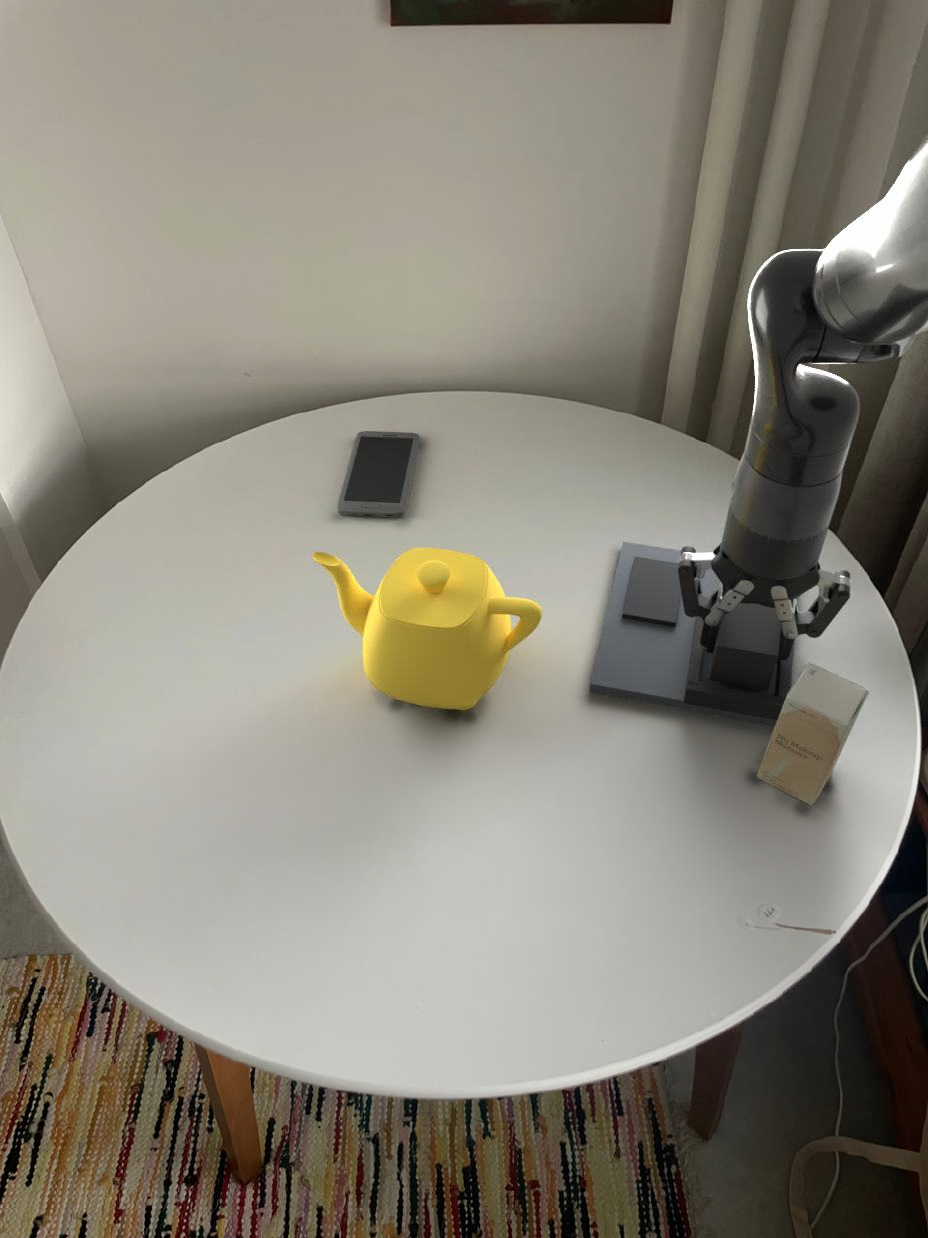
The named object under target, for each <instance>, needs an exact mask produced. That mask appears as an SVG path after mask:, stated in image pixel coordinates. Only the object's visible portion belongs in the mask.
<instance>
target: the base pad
mask: <svg viewBox="0 0 928 1238" xmlns="http://www.w3.org/2000/svg"><path fill="white" fill-rule="evenodd" d="M619 552H620V553H619V557H618V562H617V565H616V571H615V575H614V578H613V582H612V586H611V587H612V588H611V591H610V595H609V600H608V605H607V609H606V614H605V618H604V622H603V627H602V631H601V635H600V640H599V644H598V648H597V652H596V657H595V662H594V666H593V671H592V673H591V675H592V676H591V679H590V682H589V691H590V692H594V693H599V694H604V695H610V696H616V697H622V698H627V699H632V700H638V701H643V702H648V703H653V704H654V703H655V704H660V705H664V706H671V707H675V708H681V709H686V710H691V711H698V712H703V713H709V714H714V715H719V716H723V717H728V718H729V717H730V718H736V719H741V720H746V721H753V722H758V723H762V724H767V725H772V726H776V723H777V720H778V718H779V715H780V712H781V710H782V707H783V705H784V702H785V699H786V697H787V694H788V693H789V691H790V689H791V687H792V676H793V659H794V658H793V657H794V646H795V645H794V644H795V642H794V643H793V646H792V649H791V653H790V656H789V658H788V659H787V660H780V663H779V665H776V667H775V670H774V673H773V677H772V680H771V683H770V687H769V690H762V689H757V688H751V687H746V686H740V685H734V684H729V683H723V682H718V681H712V680H709V677H710V670H711V662H712V654H713V653H707V652H706V649H707V647H705V646H701V643H700V637H701V630H702V626H703V619H702V618H700V617H699V616H696V617H688V616H687V615H686V614H685V612H684V606H683V600H682V594H681V588H680V581H679V575H678V566H679V560H680V555H681V550H680V549H676V548H675V549H674V548H668V547H663V546H662V547H660V546H656V545H655V546H654V545H649V544H641V543H636V542H635V543H634V542H629V541H622V544H621V549H620V551H619ZM700 583H701V590H702V595H705V596H707V597H710V596H711V595H712V594H713V592H714V591H715V590H716V589H717V587H718V585H719V583H720V580H719V579H718V577H717V576H716V574H715V573H714V571H713V570H712V568H711V569H708V570H706V572H705V576H704V577H703V578H701V579H700Z"/></svg>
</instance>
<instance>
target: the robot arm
mask: <svg viewBox="0 0 928 1238" xmlns="http://www.w3.org/2000/svg"><path fill="white" fill-rule="evenodd" d="M747 313H748V326H749V332H750V339H751V344H752V345H751V346H752V352H753V360H754V361H753V362H754V376H755V381H754V382H755V383H754V384H755V385H754V387H755V388H754V390H755V391H754V403H753V410H752V415H751V419H750V423H749V427H748V428H749V429H748V432H747V438H746V443H745V445H744V446H745V447H744V451H743V453H742V456H741V459H740V461H739V464H738V467H737V469H736V473H735V476H734V479H733V481H732V484H731V491H732V492H731V495H730V501H729V504H728V505H729V506H728V510H727V514H726V520H725V524H724V528H723V533H722V537H721V538H722V539H721V542H720V543H719V544H718V545H717V546H716V547H715V548H714V550H713V551H712V552H697V550H696V548H695V547H693V546H691V545H685V546H683V547H682V548H681V555H680V560H679V566H678V575H679V581H680V588H681V594H682V600H683V606H684V612H685V614H686V615H687V616H688V617H696V616H699V617H700V618H702V619H703V626H702V630H701V637H700V643H701V646H705V647H707V649H706V652H707V653H713V652H714V648H715V644H716V639H717V635H718V631H719V626H720V622H721V620H722V619H723V618H724V617H725V616H726V614H727V613H728V614H730V613H731V612H732V611H733V610H734V609H735V608H736V606H737V605H738V604H739V603H746V604H760V605H763V606H765V607H770V608H775V609H776V613H777V617H778V621H779V622H780V625H781V631H780V645H779V657H778V660H777V664H776V665H779V663H780V660H787V659H788V658H789V656H790V653H791V649H792V646H793V647H794V645H793V643H794V644H795V639H796V638H797V637H798V636H801V635H806V636H807V637H809V638H812V639H817V638H820V637H821V636H822V634H823V633H824V632H825V631H826V629H827V628H828V627H829V626H830V624H831V623H832V622H833V620H834V619H835V618H836V616H837V615H838V614H839V612H840V611H841V610H842V609H843V607H844V606H845V605H846V604H847V603H848V601H849V600H850V599H851V573H850V571H848V570H845V569H838V570H837V571H836V572H834V573H832V572H829V571H826V570H824V569H821V565H820V562H819V560H820V556H821V553H822V550H823V547H824V543H825V540H826V537H827V534H828V531H829V527H830V525H831V521H832V519H833V514H834V512H835V508H836V504H837V502H838V499H839V495H840V491H841V486H842V478H843V477H842V476H843V471H844V466H845V464H846V460H847V457H848V454H849V452H850V448H851V444H852V441H853V438H854V435H855V431H856V429H857V425H858V421H859V418H860V417H859V416H860V410H861V404H860V403H861V402H860V398H859V395H858V393H857V390H855V388H854V387H853V386H852V385H851V383H849V382H848V381H846V380H845V379H843V378H841V377H840V376H837V375H836V374H833V373H830V372H829V371H828V372H827V371H824V370H821V369H817V368H812V367H809V366H806V364H807V365H808V364H809V365H827V364H828V365H829V364H830V365H833V364H834V365H837V364H838V365H842V364H843V365H844V364H845V365H846V364H848V365H849V364H850V365H851V364H852V365H854V364H855V365H860V364H861V365H866V364H878V363H884V362H890V361H893V360H897V359H899V358H900V357H902V356H904V355H905V354H906V353H907V351H909V349H910V347H912V345H913V342H914V341H915V338H916V336H917V335H919V334H922V333H924V332H925V333H926V332H927V331H928V131H927V132H926V133H925V135H924V136H923V138H922V140H921V141H920V142H919V144H918V146H917V147H916V148H915V150H914V151H913V153H912V154H911V156H910V158H909V159H908V160H907V163H906V164H905V165H904V167H903V169H902V170H901V172H900V175H899V176H898V177H897V179H896V181H895V183H894V184H893V185H892V187H891V188H890V189H889V191H888V192H887V194H886V195H885V197H884V198H883V199H881V200H880V201H879V202H878V203H876V204H875V205H874V206H872V207H871V208H870V209H869V210H868V211H866V212H865V213H863V214H862V215H861V216H860V217H858V218H856V220H854V221H853V222H852V223H850V224H849V225H848V226H847V227H846V228H844V229H843V230H842V231H840V232H839V234H837V235H836V236H835V237H834V238H833V239H832V240H831V241H830V243H829V244H828V245H827V246H826V248H823V249H821V248H820V249H816V248H815V249H814V248H813V249H811V248H808V249H807V248H806V249H805V248H803V249H801V248H799V249H787V250H782V251H779V252H777V253H775V254H774V255H772V256H771V257H770V258H769V259H767V260H766V261H765V262H764V263H763V265H761V266H760V268H759V270H757V272H756V275H755V276H754V278H753V280H752V282H751V285H750V288H749V292H748V297H747ZM711 568H712V570H713V571H714V573H715V574H716V576H717V577H718V579H719V580H720V583H719V585H718V587H717V589H716V590H715V591H714V592H713V594H712V595H711V596H710V597H707V596H705V595H702V590H701V583H700V579H701V578H703V577H704V576H705V572H706V570H708V569H711ZM816 586H817V587H818V595H817V597H816V598H815V600H814V601H813V603H811V606H810V607H809V608H808V609H807V611H799V607H798V602H797V598H798V597H800V596H802V595H803V594H805V593H806V592H808V591H810V590H811V589H813V588H814V587H816Z"/></svg>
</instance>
